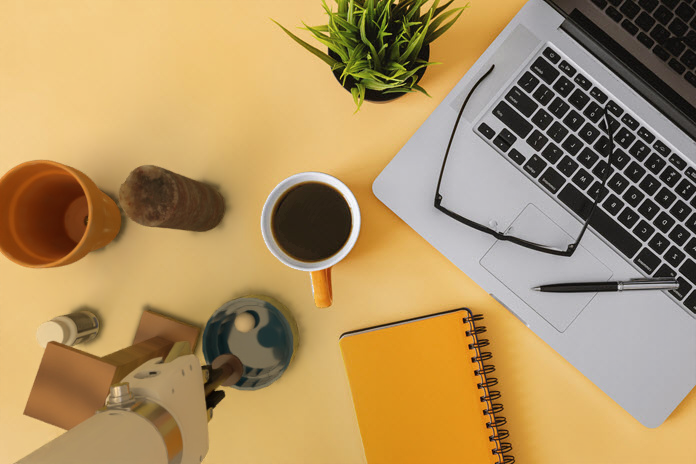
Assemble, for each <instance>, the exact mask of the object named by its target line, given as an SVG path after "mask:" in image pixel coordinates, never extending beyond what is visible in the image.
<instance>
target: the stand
mask: <svg viewBox="0 0 696 464" xmlns="http://www.w3.org/2000/svg"><path fill="white" fill-rule="evenodd" d="M201 331H202V328H201V327H197V326H195V325H192V324H189V323H186V322H183V321H180V320H178V319H175V318H172V317H169V316H167V315H163V314H160V313H157V312H155V311H152V310H148V309H146V310H143V312H142V315H141V318H140V321H139V324H138V327H137V330H136V333H135V336H134V339H133V341H132V345H129V346H126V347H124V348H121V349H119V350H116V351H114V352H111V353H108V354H106V355H103V356H99V355H97V354H96V355H95V354H93V353H89V352H88V351H85V350H82V349H78V348H76V347H74V346H71V347H70V346H67V345H65V344H62V343H59V342H56V341H50V342H48V343H47V346H46V349H44V351H43V355H42V358H41V360H40V363H39V366H38V369H37V372H36V374H35V378H34V381H33V384H32V386H31V390H30V392H29V394H28V398H27V401H26V404H25V407H24V410H23V413H22V415H23V416H26V417H29V418H32V419H34V420H37V421H40V422H43V423H46V424H48V425H51V426H54V427H57V428H59V429H62V430H64V431H66V432H67V431H68V430H70V429H72V428H73V427H75V426H77V425H78V424H80V423H82V422H83V421H85V420H87V419H88V418H90V417H92V416H93V415H95V414H96V413H95V411H97V410H98V409H100V408H102V407H103V406H105V404H106V398H107V397H108V395H109V394H110V386H111V385H113V384H117V383H119V382H121V381H122V380H123V379H124V378H125V377H126V376H127V375H129V374H130V373H131V372H132V371H134V370H135V369H136V368H138V367H139V366H141V365H142V364H144V363H145V362H147V361H149V360H151V359H154V358H158V357H163V362H164V361H165V359H166V357H167V356H168V354H169V352H170V351H171V349H172V347H173V346H174V344H175V343H176V342H182V341H189V343H190V346H191V350H192V353H193V354H194V352H195V350H196V346H197V344H198V340H199V338H200V335H201Z"/></svg>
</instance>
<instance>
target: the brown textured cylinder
mask: <svg viewBox="0 0 696 464" xmlns="http://www.w3.org/2000/svg"><path fill="white" fill-rule="evenodd" d="M118 197H119V200H118V201H119V205H120V207H121V209H122V210H123V212H124V214H125V215H126V216H127V218H129V219H130V220H131V221H133V222H135V223H136V224H137V225H140V226H143V227H147V228H159V229H170V230H177V231H185V232H186V231H187V232H195V233H206V232H208V231H212V230H213V229H215V228H217V227H218V226H219V225H220V223H221V222H222V220H223V219H224V215H225V212H226V203H225V199H224V197H223V195H222V193H221V192H220V191H219V190H218V189H217V188H216V187H214V186H212V185H210V184H207V183H205V182H202V181H199V180H196V179H193V178H190V177H188V176H185V175H182V174H180V173H177V172H175V171H172V170H170V169H167V168H164V167H161V166H158V165H153V164H144V165H140V166H138V167H135V168H134V169H133V170H131V171H130V172H129V174H128V176H127V178H126V179H125V180H124V181H123V182H122V184H120V187H119V190H118Z"/></svg>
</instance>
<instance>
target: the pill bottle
mask: <svg viewBox="0 0 696 464" xmlns="http://www.w3.org/2000/svg"><path fill="white" fill-rule="evenodd" d="M99 330H100V322H99V319H98V317H97V316H96V315H95V314H94V313H92V312H91V311H87V310H82V311H81V310H80V311H75V312H71V313H67V314H62V315H58V316H54V317H53V318H51V319H50V320H46V321H44V322H42V323H41V324H40V325H39V326H38V327H37V329H36V332H35V340H36V342H37V344H38V345H39V347H41V348H42V349H43V350H45V349H46V346H47V343H48V342H50V341H56V342H59V343H62V344H65V345H67V346H70V347H74V346H76V345H80V344H83V343H86V342H89V341H91V340H93V339H95V337H96V336H97V334H98V332H99Z"/></svg>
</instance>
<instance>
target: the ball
mask: <svg viewBox="0 0 696 464" xmlns="http://www.w3.org/2000/svg"><path fill="white" fill-rule="evenodd" d="M254 326H255V318H254V316H253V315H252V314H250V313H248V312H243V313H240V314H239V315H238V316H237V317H236V319H235V327H236V329H237V330H238V331H240V332H242V333H247V332H250V331H251V330H252V329H253V328H254Z"/></svg>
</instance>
